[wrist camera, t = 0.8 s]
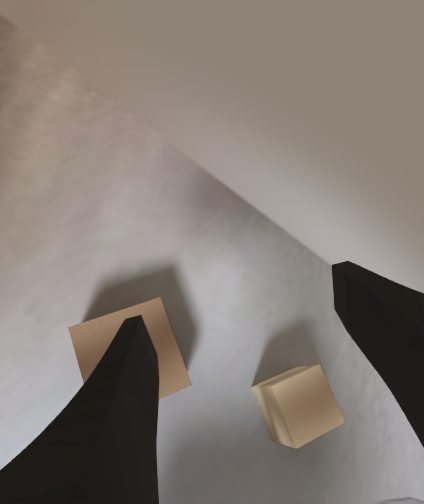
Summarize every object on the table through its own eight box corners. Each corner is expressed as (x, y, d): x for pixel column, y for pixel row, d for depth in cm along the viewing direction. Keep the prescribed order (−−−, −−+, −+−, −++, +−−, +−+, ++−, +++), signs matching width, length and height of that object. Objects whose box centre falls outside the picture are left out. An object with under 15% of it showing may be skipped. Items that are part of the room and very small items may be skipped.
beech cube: (315, 417, 27) (345, 422, 24) (271, 440, 26) (296, 449, 22) (293, 367, 28) (319, 364, 25) (250, 386, 27) (271, 386, 24)
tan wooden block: (181, 385, 26) (191, 384, 22) (99, 420, 24) (95, 426, 20) (154, 309, 28) (160, 296, 24) (75, 336, 26) (68, 327, 22)
